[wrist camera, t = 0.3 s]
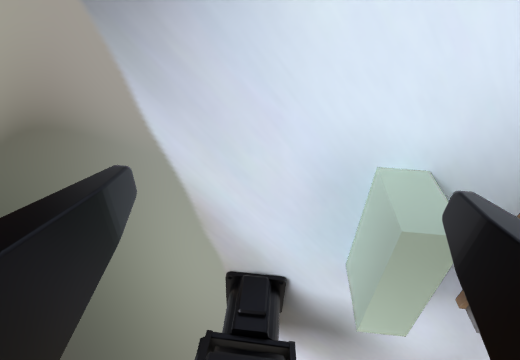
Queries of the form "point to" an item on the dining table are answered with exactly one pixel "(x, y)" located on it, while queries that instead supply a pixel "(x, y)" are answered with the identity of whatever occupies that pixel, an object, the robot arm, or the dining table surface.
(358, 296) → the pale green block
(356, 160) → the dining table surface
